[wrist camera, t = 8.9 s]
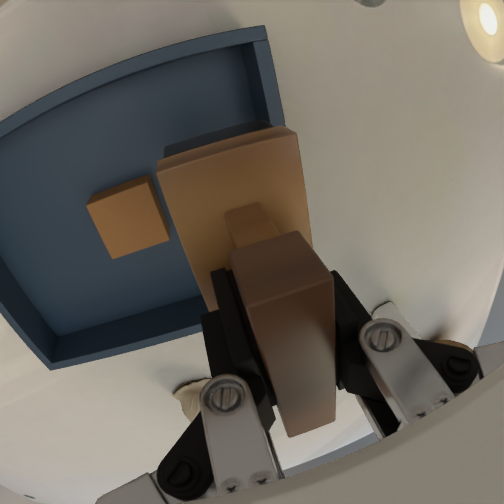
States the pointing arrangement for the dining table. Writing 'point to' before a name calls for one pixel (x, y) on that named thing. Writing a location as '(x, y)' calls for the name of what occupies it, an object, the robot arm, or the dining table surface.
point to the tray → (105, 177)
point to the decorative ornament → (190, 398)
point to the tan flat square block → (129, 217)
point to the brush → (260, 255)
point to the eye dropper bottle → (394, 317)
